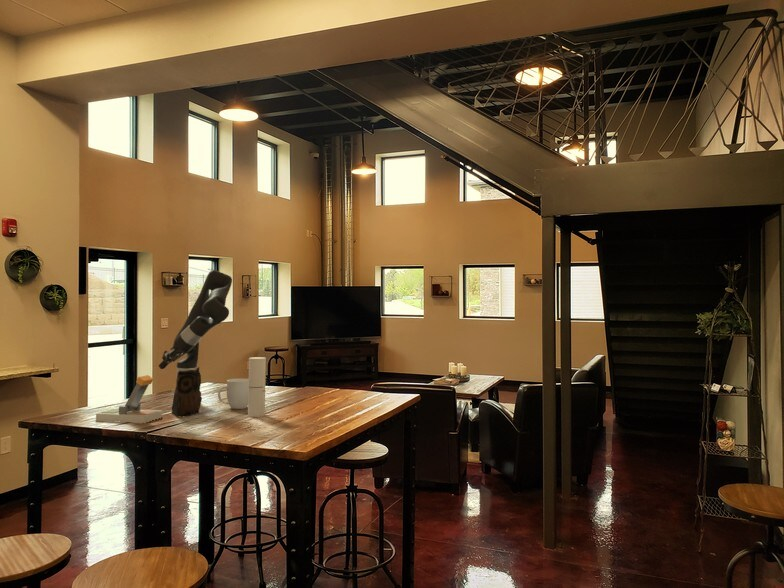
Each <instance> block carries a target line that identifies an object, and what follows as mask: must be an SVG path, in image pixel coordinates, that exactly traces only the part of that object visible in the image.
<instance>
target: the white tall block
mask: <svg viewBox="0 0 784 588" xmlns="http://www.w3.org/2000/svg"><path fill="white" fill-rule="evenodd" d="M266 367H267V357H264V356H263V357H261V356H259V357H255V356H254V357H253V356H252V357H249V358H248V379H249V388H248V405H247V416H248V417H251V418H260V417H264V416H266V413H265V412H266V372H267V371H266V370H267V369H266Z"/></svg>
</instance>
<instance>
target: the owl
mask: <svg viewBox="0 0 784 588" xmlns="http://www.w3.org/2000/svg"><path fill="white" fill-rule="evenodd" d="M175 382H176V383H175V388H174V393H173V398H172V405H171V414H173V415H175V416H176V417H178V416H181V417H182V418H183V416H184V417H190V416H192V415H193V416H194V415H197V414H199V413H200V409H201V408H200V407H201V404H202V400H203V399H202V392H201V385H202V374H201V372H200V367H198V366H197V368H194V369H187V370H183V371H179V372H178V374H177V373H176V381H175Z"/></svg>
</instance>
